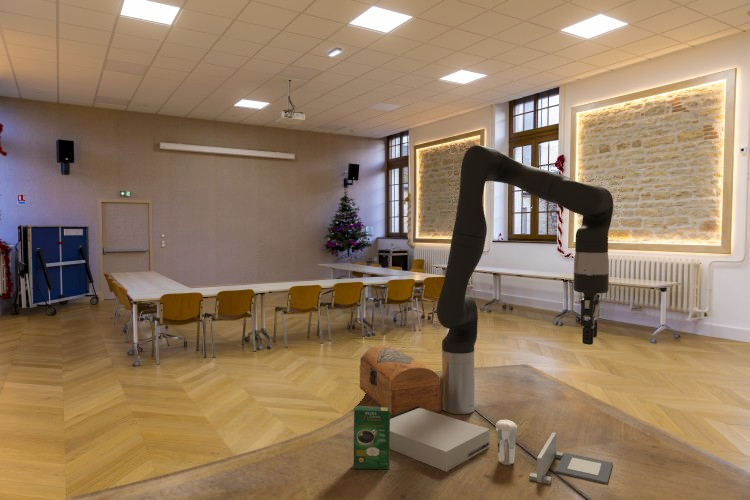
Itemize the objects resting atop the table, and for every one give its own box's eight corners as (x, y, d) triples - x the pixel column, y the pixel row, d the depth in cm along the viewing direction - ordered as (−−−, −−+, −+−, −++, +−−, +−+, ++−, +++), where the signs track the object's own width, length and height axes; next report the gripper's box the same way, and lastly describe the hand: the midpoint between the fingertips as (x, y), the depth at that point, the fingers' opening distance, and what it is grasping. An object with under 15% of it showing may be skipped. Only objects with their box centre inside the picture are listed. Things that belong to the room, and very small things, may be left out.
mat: (555, 472, 104) (555, 470, 104) (564, 454, 113) (564, 452, 113) (607, 484, 99) (607, 481, 99) (612, 464, 108) (612, 462, 108)
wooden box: (356, 388, 165) (356, 347, 164) (402, 383, 170) (402, 343, 169) (386, 419, 136) (386, 369, 136) (441, 412, 141) (440, 364, 141)
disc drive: (417, 424, 134) (417, 405, 134) (490, 448, 118) (490, 427, 118) (371, 443, 121) (371, 423, 121) (445, 474, 105) (445, 450, 105)
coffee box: (391, 464, 109) (390, 405, 109) (390, 470, 106) (389, 410, 106) (354, 463, 110) (353, 405, 109) (353, 469, 107) (352, 409, 106)
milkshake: (521, 467, 107) (521, 421, 107) (496, 465, 108) (496, 420, 108) (520, 458, 111) (519, 414, 111) (495, 456, 112) (495, 412, 112)
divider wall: (529, 480, 101) (529, 455, 101) (545, 452, 114) (545, 430, 114) (549, 484, 99) (549, 460, 99) (563, 456, 112) (563, 434, 112)
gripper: (578, 269, 124) (577, 333, 124) (569, 273, 111) (568, 344, 112) (611, 270, 120) (610, 336, 120) (606, 274, 107) (604, 348, 108)
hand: (589, 340), depth 116 cm, fingers open, 8 cm apart
